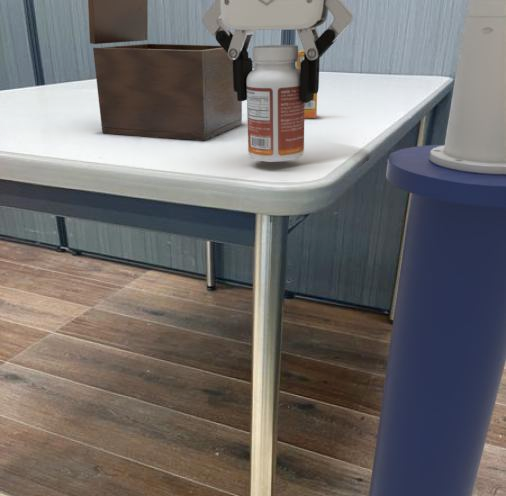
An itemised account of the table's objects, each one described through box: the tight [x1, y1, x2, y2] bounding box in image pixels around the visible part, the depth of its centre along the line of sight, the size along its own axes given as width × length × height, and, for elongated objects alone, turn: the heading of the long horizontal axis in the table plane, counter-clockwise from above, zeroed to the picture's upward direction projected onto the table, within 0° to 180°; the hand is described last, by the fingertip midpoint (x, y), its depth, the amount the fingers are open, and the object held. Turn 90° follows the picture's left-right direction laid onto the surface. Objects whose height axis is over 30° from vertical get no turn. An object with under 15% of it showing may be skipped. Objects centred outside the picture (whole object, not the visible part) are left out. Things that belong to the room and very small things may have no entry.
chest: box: [92, 43, 243, 142], centre depth 84 cm, size 16×15×11 cm
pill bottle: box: [246, 44, 305, 163], centre depth 63 cm, size 6×6×11 cm
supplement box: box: [296, 49, 318, 120], centre depth 95 cm, size 3×3×10 cm
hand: (275, 98), depth 63 cm, fingers closed on pill bottle, 6 cm apart
